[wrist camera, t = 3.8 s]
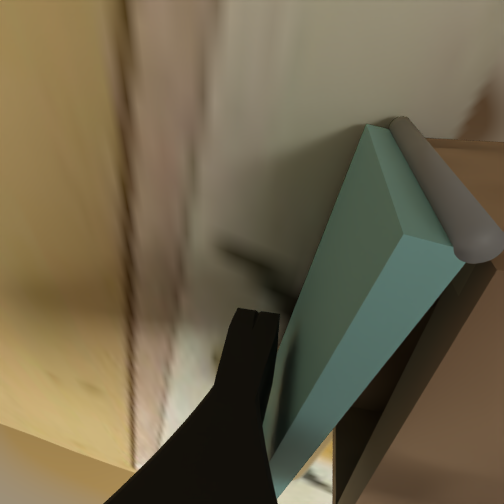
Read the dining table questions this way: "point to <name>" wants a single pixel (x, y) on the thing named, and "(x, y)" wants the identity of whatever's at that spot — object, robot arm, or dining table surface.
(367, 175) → the teal door
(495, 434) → the walnut cabinet
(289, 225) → the dining table surface
